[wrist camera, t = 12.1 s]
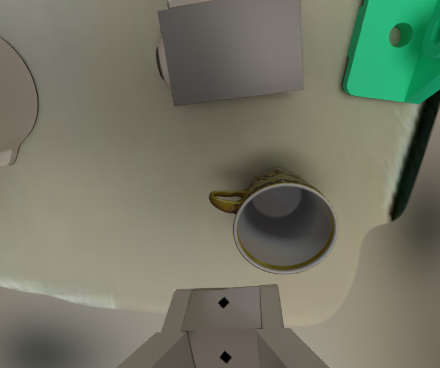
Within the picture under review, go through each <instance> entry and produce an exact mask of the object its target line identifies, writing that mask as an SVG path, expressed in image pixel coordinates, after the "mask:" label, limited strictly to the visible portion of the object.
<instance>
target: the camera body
mask: <svg viewBox="0 0 440 368" xmlns="http://www.w3.org/2000/svg"><path fill="white" fill-rule="evenodd" d="M158 16H159V22H160V27H161V33H162V37H160V39H159V43H158V47H157V49H156V59H157V65H158V69H159V72H160V75H161V77H162V79H163V80H165V82H166V84H167V85H168V87H170V88H171V90H172V96H173V102H174V106H179V105H187V104H195V103H203V102H211V101H219V100H227V99H234V98H242V97H250V96H258V95H266V94H274V93H282V92H290V91H298V90H303V61H302V31H301V1H300V0H223V1H217V2H211V3H205V4H199V5H193V6H187V7H181V8H175V9H169V10H163V11H158Z"/></svg>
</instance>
